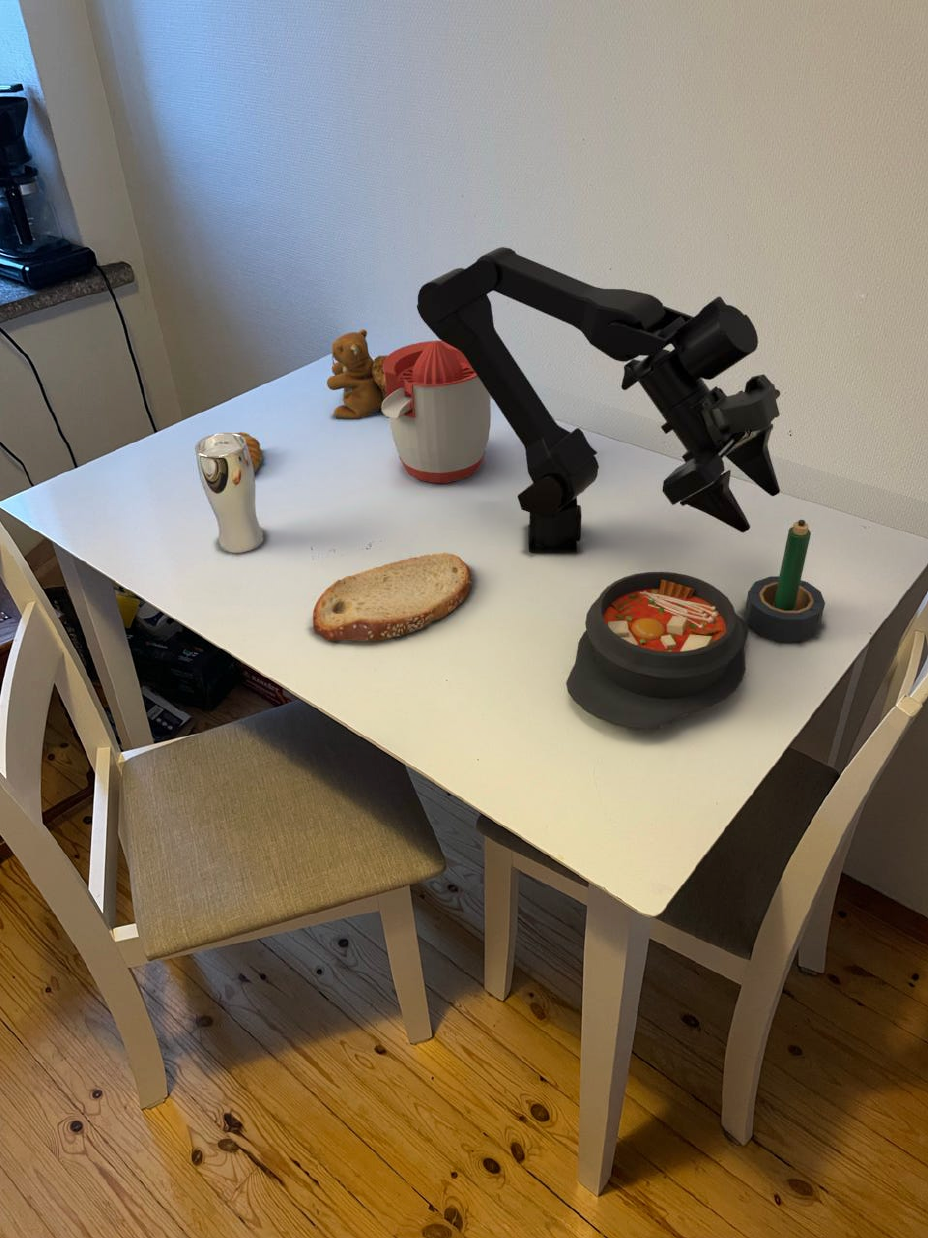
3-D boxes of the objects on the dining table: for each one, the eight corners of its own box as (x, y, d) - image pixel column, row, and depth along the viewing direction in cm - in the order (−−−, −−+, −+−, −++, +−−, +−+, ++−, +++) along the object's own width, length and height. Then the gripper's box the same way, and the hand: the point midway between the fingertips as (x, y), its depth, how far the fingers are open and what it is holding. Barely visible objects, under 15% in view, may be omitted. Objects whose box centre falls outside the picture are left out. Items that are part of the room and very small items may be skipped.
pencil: (768, 623, 114) (788, 524, 105) (772, 611, 115) (792, 513, 107) (790, 628, 113) (811, 528, 104) (793, 616, 115) (815, 517, 106)
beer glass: (276, 533, 134) (258, 436, 125) (248, 559, 129) (226, 461, 120) (236, 523, 136) (214, 428, 127) (206, 548, 131) (182, 451, 122)
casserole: (645, 587, 120) (651, 531, 115) (784, 644, 111) (797, 585, 105) (526, 694, 106) (526, 636, 101) (674, 771, 96) (682, 710, 91)
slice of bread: (478, 567, 125) (477, 543, 123) (449, 655, 112) (447, 630, 109) (347, 556, 129) (344, 532, 126) (303, 640, 115) (299, 615, 113)
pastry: (269, 475, 147) (264, 453, 144) (225, 484, 145) (219, 462, 143) (260, 448, 154) (255, 426, 151) (218, 456, 152) (213, 434, 150)
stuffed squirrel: (344, 392, 169) (335, 319, 161) (420, 398, 166) (415, 324, 158) (323, 417, 162) (313, 342, 154) (402, 424, 158) (396, 348, 150)
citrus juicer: (363, 470, 147) (348, 345, 134) (447, 432, 156) (440, 311, 143) (429, 508, 137) (419, 377, 125) (515, 464, 146) (514, 338, 134)
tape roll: (752, 642, 111) (756, 619, 109) (739, 599, 118) (743, 576, 116) (825, 643, 111) (831, 619, 108) (809, 599, 117) (814, 576, 115)
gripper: (703, 393, 94) (792, 520, 96) (771, 332, 106) (849, 446, 108) (625, 445, 103) (708, 561, 105) (696, 383, 115) (769, 488, 117)
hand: (762, 511), depth 108 cm, fingers open, 9 cm apart
